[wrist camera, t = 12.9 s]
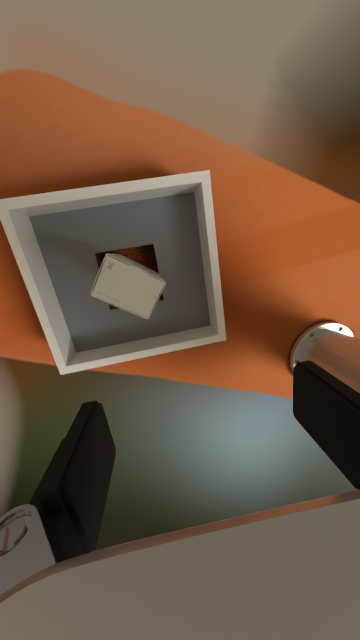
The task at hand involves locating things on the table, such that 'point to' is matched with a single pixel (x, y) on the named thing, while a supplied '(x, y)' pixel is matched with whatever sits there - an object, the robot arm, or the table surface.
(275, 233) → the table surface
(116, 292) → the skincare box
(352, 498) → the robot arm
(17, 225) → the bore box
